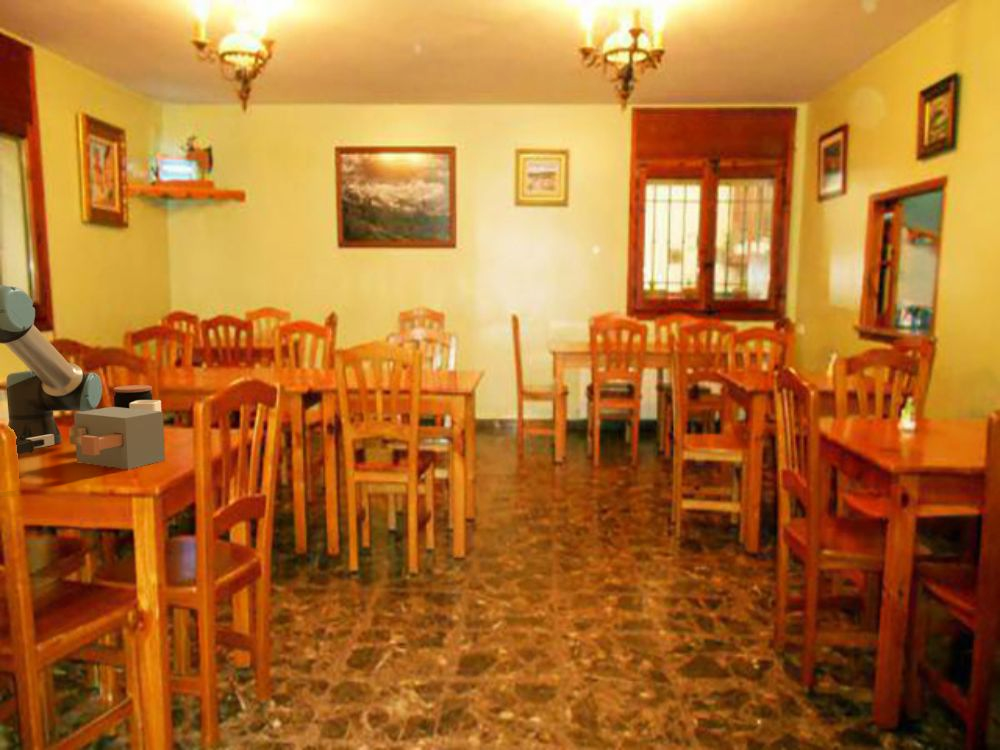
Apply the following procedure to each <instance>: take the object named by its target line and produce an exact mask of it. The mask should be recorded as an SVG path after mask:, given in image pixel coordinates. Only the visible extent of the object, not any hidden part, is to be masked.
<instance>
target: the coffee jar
mask: <svg viewBox="0 0 1000 750" xmlns="http://www.w3.org/2000/svg"><path fill="white" fill-rule="evenodd" d="M152 389H153V386H152V385H147V384H145V385H144V384H139V385H138V384H134V385H133V384H132V385H122V386H116V387H114V388H113V392H114V393H115V394H114V395H113V407H120V408H129V403H131V402H134V401H138V400H153V394H152V393H151V392H152Z"/></svg>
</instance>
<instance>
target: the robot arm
mask: <svg viewBox="0 0 1000 750" xmlns="http://www.w3.org/2000/svg"><path fill="white" fill-rule="evenodd" d="M33 305H34V302H33V300H32V298H31V297H30V295H29V294H28V293H27V292H26V291H25V290H23V289H21V288H20V287H17V286H12V285H11V286H9V285H5V284H4V285H1V284H0V344H1V345H2V344H4V345H5V346H6V347H7V349H9V350H10V351H11V352H12V353H13V354H15V356H16V357H17V358H18V359H19V360H20V361H21V362H22V363H23V364H24V365H25V366H26V367H27V368H28V369H29V370H25V371H24V370H23V371H17V372H13V373H12V372H11V373H9V374H8V375H7V377H6V381H5V383H6V386H5V390H6V399H7V410H8V411H7V413H8V423H7V427H8V426H9V427H10V428H11V429H13V430H14V432H15V434H16V436H17V439H16V445H17V453H18V455H21V454H22V455H23V454H26V453H33V451H35V449H39V448H46V447H49V446H54V445H57V444H60V443H62V433H61V432H60V430H59V428H58V425H57V423H56V420H55V418H54V412H83V411H89V410H95V409H97V407H98V405H99V404H100V401H101V398H102V394H103V383H102V379H101V378H100V376H99V374H98V373H93V372H85V371H84V370H83V369H82V367H80V366H79V365H77V364H76V363H73V362H72V363H71V362H68V361H67V360H66V359H65V358H64V356H63V355H62V354H61V353H60V352H59V351H58V349H56V347H55V346H54V345H53V344H52V343H51V342H50V341H49V340H48V339H47V338H46V336H44V335H43V333H42V332H41V331H40V330H39V329H38V328H37V327H36V326H35V324H34V323H35V318H36V309H35V307H33Z"/></svg>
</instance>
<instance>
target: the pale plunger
mask: <svg viewBox="0 0 1000 750" xmlns="http://www.w3.org/2000/svg"><path fill="white" fill-rule="evenodd" d="M68 433H69V444H70V445H74V446H76V445H81V436H85V435H87V430H86V428H81V427H75V426H72V427H71V426H70V427H68ZM81 446H82V445H81Z"/></svg>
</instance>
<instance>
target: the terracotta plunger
mask: <svg viewBox="0 0 1000 750" xmlns="http://www.w3.org/2000/svg"><path fill="white" fill-rule="evenodd" d="M81 445H82V454H87V455H99V454H100V452H99V450H102V449H107V448H111V447H116V446H121V445H123V434H120V433H117V434H112V435H107V436H101V437H97V436H88V435H85V436H81Z"/></svg>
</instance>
